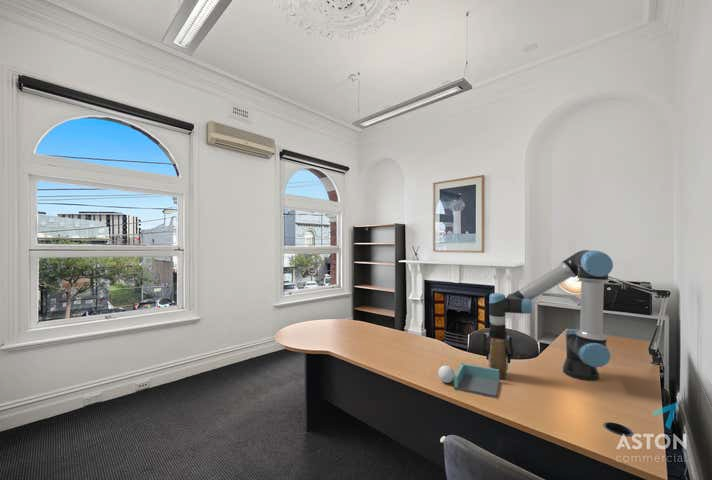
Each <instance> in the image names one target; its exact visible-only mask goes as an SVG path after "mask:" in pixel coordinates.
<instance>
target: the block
mask: <svg viewBox="0 0 712 480" xmlns="http://www.w3.org/2000/svg"><path fill="white" fill-rule="evenodd" d="M505 344H506V345H507V343H506V338H505V339H499V338H493V337H492V338H491V337H490V343H489V345H490V352H489V353H490V367H489V368H493V369H499V380H504V379H507V372H508V370H506V355H507V354H506V352H505Z"/></svg>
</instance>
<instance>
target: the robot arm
mask: <svg viewBox="0 0 712 480" xmlns="http://www.w3.org/2000/svg"><path fill="white" fill-rule="evenodd" d="M613 267H614V262H613V260H612V258H611V257H610V256H609V255H608V254H607V253H605V252H603V251H599V250H594V249H593V250H588V249H585V250H578V251H577V252H575V253H573V254H572V255H570V256H569V257H567V258H566V259H565V260H562V261H561V262H560V265H558V266H556V267H555V268H553V269H552V270H550V271H548V272H547V273H545V274H543V275H542V276H540V277H538V278H537V279H535V280H533V281H532V282H530V283H528V284H527V285H525V286H523V287H521V288H520V289H518V290H517V291H516V290H515V292H511V293H509V294H507V295H505V294H504V293H499V292H495V293H490V294H489V296H488V297H489V301H488V303H489V304H488V305H489V332H484V333H483V338H484V339H483V345H482V352H483V353H485V357H486V360H487V361H488V368H490V344H489V345H488V348H487V342H488V338H489V337H490V339H491V338H492V337H493V338H499V339H505V340H506V339H507V340H508V344H509V348H508V346H507V343H506V344H505V352H506V370H507V371H508V370H509V364H511V357H514V356H515V352H514V351H515V350H514V345H513V335H508V334H507V329H506V327H507V326H506V313H507V314H521V315H522V314H523V315H525V314H526V315H529V314H532V311H533V304H532V301H533V300H534V299H536V298H538V296H541V295H543V294H544V293H546V292H548V291H549V290H551V289H553V288H554V287H556V286H558V285H560V284H561V283H564V282H565V281H567V280H568V279H570V278H576V277H577V279H578V280H579V281H580V283H581V284H580V311H579V312H580V319H579V321H580V322H579V328H568V329H566V330H565V342H566V343H565V347H566V348H565V349H566V358H565V361H564V363H563V366H562V373H563V374H565V375H567V376H569V377H570V378H573V379H576V380H582V381H598V380H599V378H600V373H599V371H598V368H601V367H604V366H606V365H607V364H608V363H609V362H610V361H611V353H610V350H609V349H608V347H607V337H606V336H605V334H603V330H604V329H603V328H604V327H603V326H604V323H603V322H604V321H603V320H604V293H605V292H604V291H605V283H606V282H608V281H609V274H610V273H611V272H612V270H613Z"/></svg>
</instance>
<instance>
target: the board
mask: <svg viewBox="0 0 712 480" xmlns="http://www.w3.org/2000/svg"><path fill="white" fill-rule="evenodd" d="M453 387H454V386H453ZM499 387H500V380H499V381H497V380H492V379H486V378H481V377H476V376H470V375H465V374H464V376H463V378H462V380H461V382H460V384H459V386H458V387H454V390H456V391H460V392H465V393H470V394H475V395H479V396H484V397H488V398H493V399H496V398H497V395H498V390H499Z"/></svg>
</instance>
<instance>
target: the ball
mask: <svg viewBox="0 0 712 480" xmlns="http://www.w3.org/2000/svg"><path fill="white" fill-rule="evenodd" d="M437 373H438V377H439V378H438V379H439V380H440V381H441V382H443V383H445V384H450V383H452V382H454V375H455V374H456V372H455V370H454V369H453V368H452V366H449V365H441V367H439V369H438V372H437Z"/></svg>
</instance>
